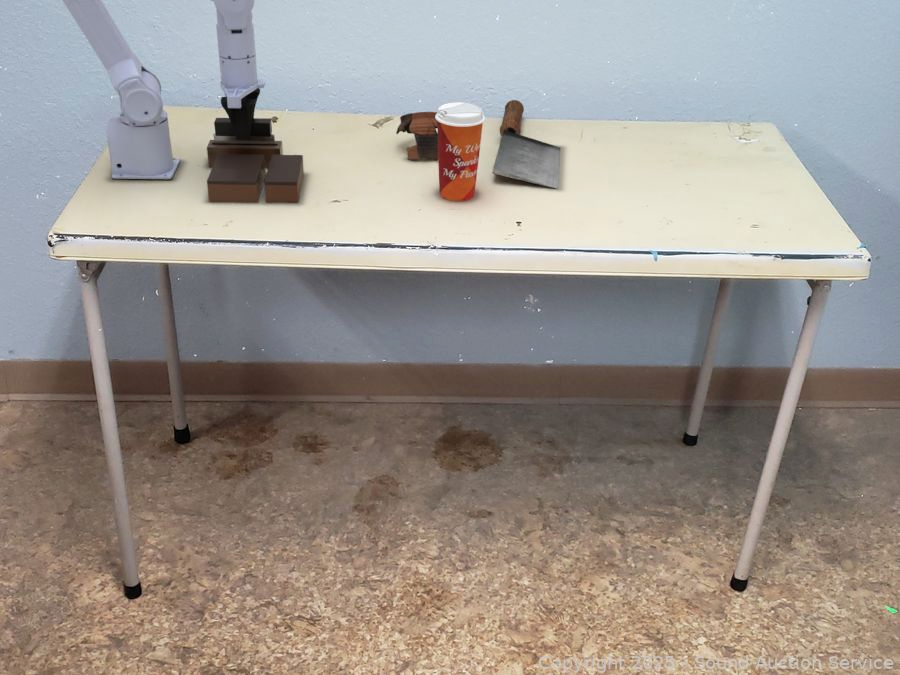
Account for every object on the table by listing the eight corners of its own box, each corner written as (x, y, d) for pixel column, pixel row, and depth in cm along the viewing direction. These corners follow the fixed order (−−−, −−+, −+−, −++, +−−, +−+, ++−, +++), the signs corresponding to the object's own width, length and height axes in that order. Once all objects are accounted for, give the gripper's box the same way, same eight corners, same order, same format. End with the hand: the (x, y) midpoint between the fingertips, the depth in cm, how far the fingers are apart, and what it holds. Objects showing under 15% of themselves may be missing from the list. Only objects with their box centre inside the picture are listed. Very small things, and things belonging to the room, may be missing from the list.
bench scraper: (215, 165, 160) (210, 121, 155) (217, 160, 161) (213, 117, 157) (275, 166, 160) (272, 123, 156) (277, 161, 162) (274, 118, 158)
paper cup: (446, 207, 149) (449, 120, 141) (424, 188, 154) (426, 104, 147) (490, 199, 152) (495, 114, 144) (467, 181, 158) (471, 98, 150)
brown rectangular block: (265, 202, 148) (264, 181, 146) (273, 174, 157) (271, 154, 155) (298, 202, 148) (297, 181, 146) (303, 174, 158) (302, 154, 156)
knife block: (208, 167, 159) (206, 147, 157) (212, 159, 162) (210, 139, 160) (281, 168, 160) (280, 148, 158) (283, 160, 163) (282, 140, 161)
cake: (209, 201, 147) (206, 180, 146) (219, 173, 157) (217, 153, 155) (258, 202, 148) (256, 181, 146) (265, 174, 157) (264, 154, 155)
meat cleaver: (558, 188, 156) (561, 165, 154) (489, 183, 157) (491, 160, 155) (561, 121, 185) (563, 101, 183) (503, 117, 186) (505, 97, 184)
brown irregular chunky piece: (390, 162, 165) (387, 114, 164) (410, 168, 174) (407, 122, 173) (456, 153, 161) (453, 104, 160) (473, 160, 170) (470, 113, 169)
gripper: (257, 68, 145) (263, 153, 152) (267, 42, 157) (273, 121, 165) (210, 67, 145) (218, 152, 152) (224, 41, 157) (231, 120, 164)
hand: (244, 136), depth 158 cm, fingers closed on bench scraper, 2 cm apart
